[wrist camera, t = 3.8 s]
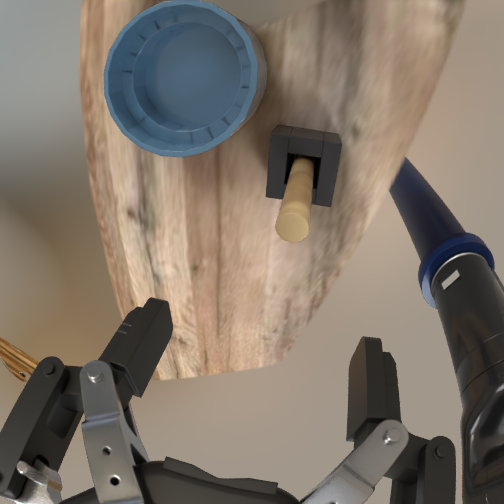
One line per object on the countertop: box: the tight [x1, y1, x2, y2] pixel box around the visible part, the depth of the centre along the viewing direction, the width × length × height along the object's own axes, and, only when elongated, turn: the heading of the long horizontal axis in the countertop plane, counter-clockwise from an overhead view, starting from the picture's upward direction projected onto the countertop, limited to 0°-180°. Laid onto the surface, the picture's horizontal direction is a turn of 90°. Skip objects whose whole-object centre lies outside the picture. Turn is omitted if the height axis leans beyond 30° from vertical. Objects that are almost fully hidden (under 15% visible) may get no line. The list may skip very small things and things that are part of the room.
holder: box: [266, 125, 342, 207], centre depth 28 cm, size 6×6×4 cm
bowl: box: [104, 0, 267, 157], centre depth 25 cm, size 15×15×6 cm
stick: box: [276, 154, 314, 242], centre depth 24 cm, size 2×2×15 cm
